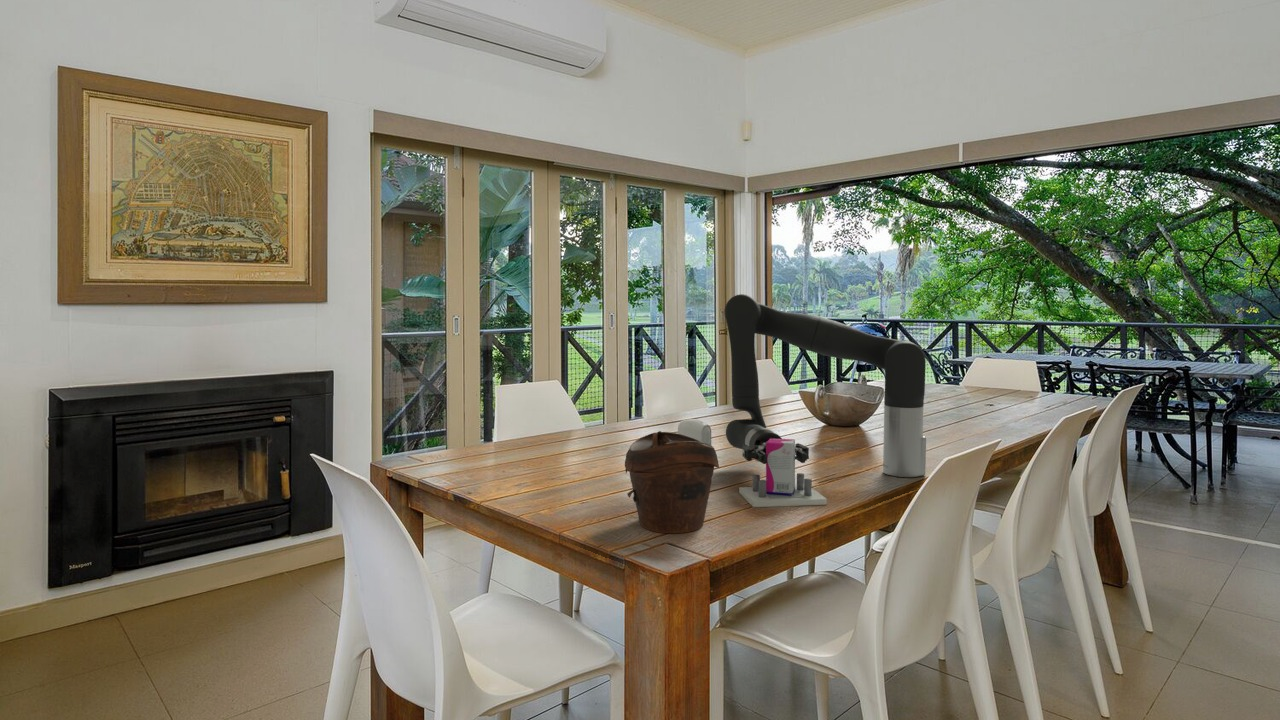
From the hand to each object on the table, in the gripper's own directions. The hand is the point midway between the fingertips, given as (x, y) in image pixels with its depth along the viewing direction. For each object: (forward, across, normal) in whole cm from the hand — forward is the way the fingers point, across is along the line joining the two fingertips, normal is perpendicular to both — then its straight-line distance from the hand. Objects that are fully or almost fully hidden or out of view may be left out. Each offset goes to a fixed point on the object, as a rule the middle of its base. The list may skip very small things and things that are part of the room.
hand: (784, 458), depth 156 cm
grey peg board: (-2, 0, +9) cm, 9 cm away
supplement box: (-2, 0, +8) cm, 8 cm away
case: (+13, -27, +10) cm, 31 cm away
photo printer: (-37, -13, +10) cm, 40 cm away
